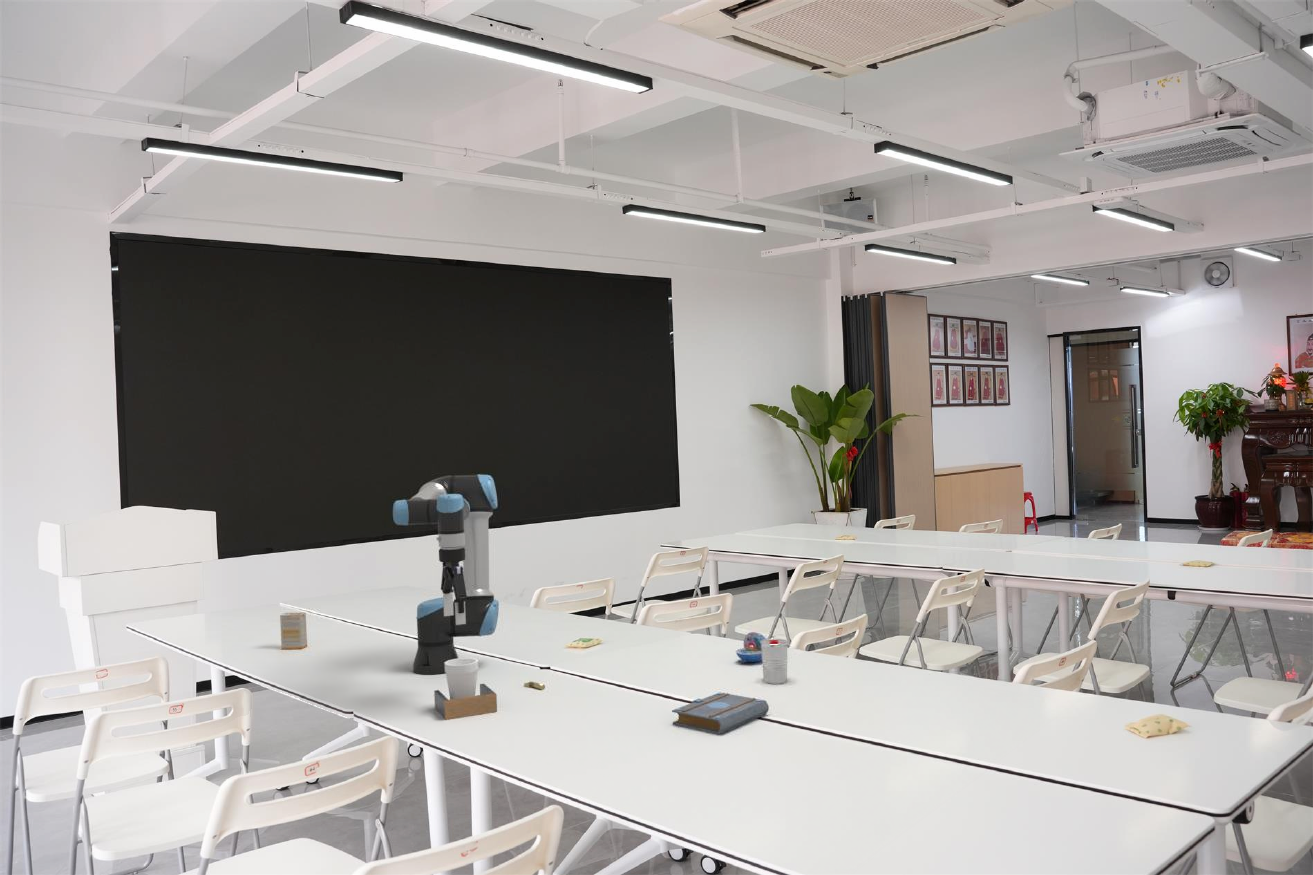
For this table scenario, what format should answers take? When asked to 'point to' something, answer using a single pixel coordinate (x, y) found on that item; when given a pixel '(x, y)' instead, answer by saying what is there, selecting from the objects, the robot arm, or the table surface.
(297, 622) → the supplement box
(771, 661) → the ribbed metal can
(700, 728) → the book
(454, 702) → the channel
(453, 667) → the foam cup
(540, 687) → the brass key
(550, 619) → the table surface
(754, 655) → the cell model
